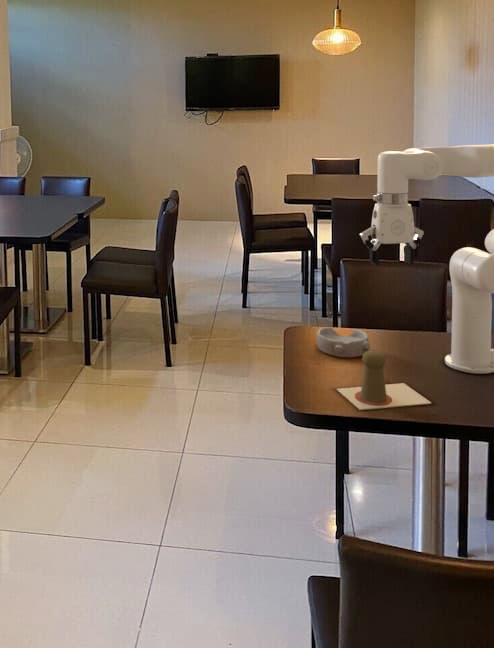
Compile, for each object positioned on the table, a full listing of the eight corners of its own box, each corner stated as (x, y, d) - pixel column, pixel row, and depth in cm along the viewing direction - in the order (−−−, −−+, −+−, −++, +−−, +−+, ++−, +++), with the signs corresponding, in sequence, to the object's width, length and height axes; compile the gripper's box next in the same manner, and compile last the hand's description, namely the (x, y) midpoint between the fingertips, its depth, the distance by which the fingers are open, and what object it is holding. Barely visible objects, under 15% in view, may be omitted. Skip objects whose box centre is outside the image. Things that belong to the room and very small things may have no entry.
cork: (388, 403, 172) (389, 357, 171) (361, 401, 173) (362, 356, 172) (384, 393, 178) (385, 348, 177) (358, 391, 179) (359, 347, 178)
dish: (312, 342, 215) (312, 325, 215) (360, 342, 215) (360, 325, 215) (324, 360, 201) (324, 342, 201) (375, 360, 200) (375, 342, 200)
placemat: (403, 384, 184) (403, 382, 184) (431, 403, 172) (431, 401, 172) (336, 389, 181) (336, 387, 181) (360, 410, 169) (360, 408, 169)
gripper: (368, 202, 186) (367, 268, 187) (431, 199, 189) (430, 265, 190) (354, 198, 193) (353, 262, 194) (414, 195, 196) (414, 259, 197)
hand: (391, 263), depth 192 cm, fingers open, 9 cm apart
